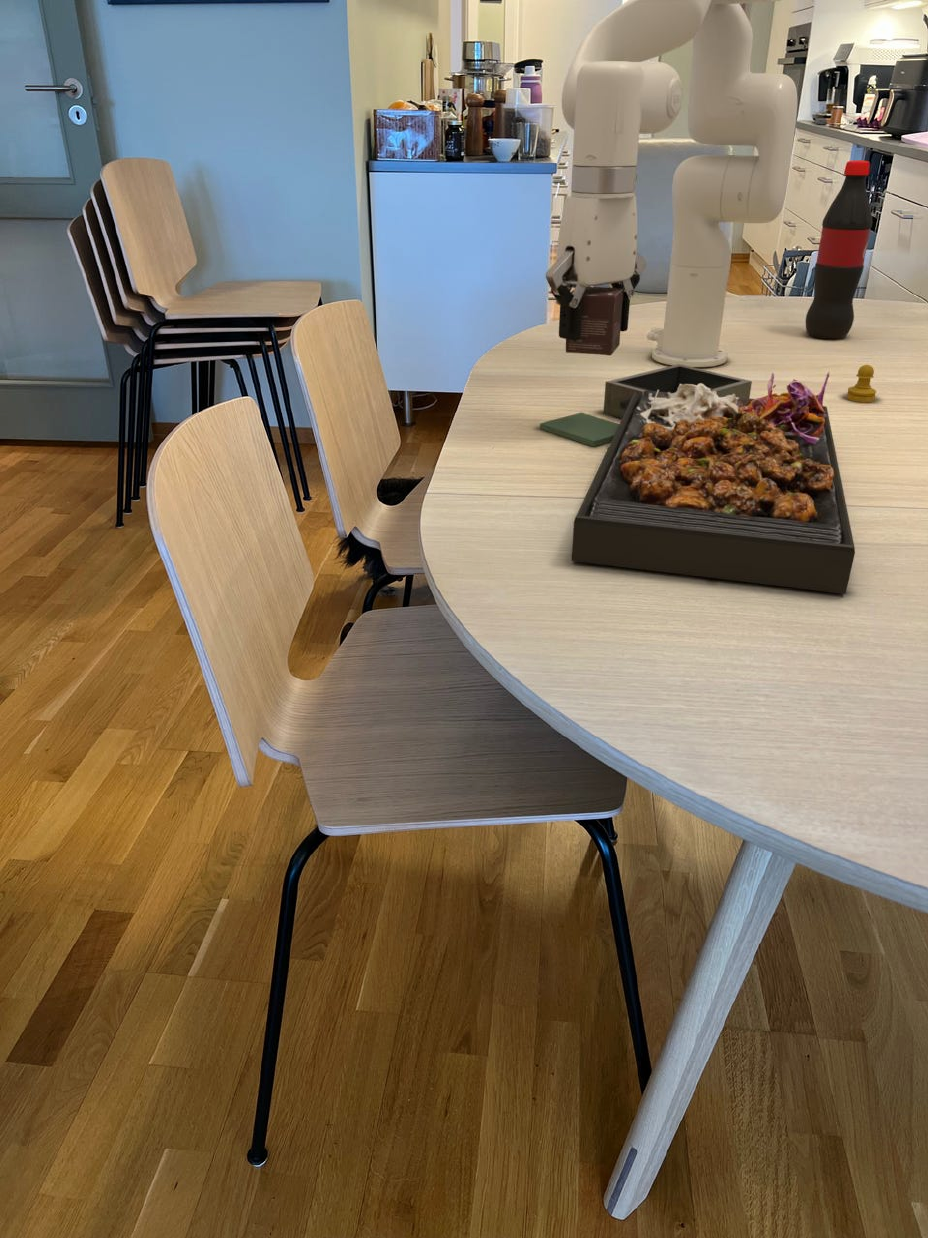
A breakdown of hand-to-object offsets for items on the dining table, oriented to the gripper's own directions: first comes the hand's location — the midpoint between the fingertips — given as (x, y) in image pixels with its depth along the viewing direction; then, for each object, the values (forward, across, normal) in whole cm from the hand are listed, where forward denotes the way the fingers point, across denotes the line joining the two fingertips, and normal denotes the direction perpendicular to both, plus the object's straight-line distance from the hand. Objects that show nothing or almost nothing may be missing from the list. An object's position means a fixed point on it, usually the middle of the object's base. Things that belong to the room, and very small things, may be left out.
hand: (593, 333), depth 117 cm
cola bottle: (+13, -78, -12) cm, 80 cm away
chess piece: (+13, -43, +15) cm, 47 cm away
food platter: (+13, +6, +25) cm, 29 cm away
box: (+2, 0, 0) cm, 2 cm away
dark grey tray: (+13, -16, +2) cm, 21 cm away
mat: (+13, 0, 0) cm, 13 cm away
